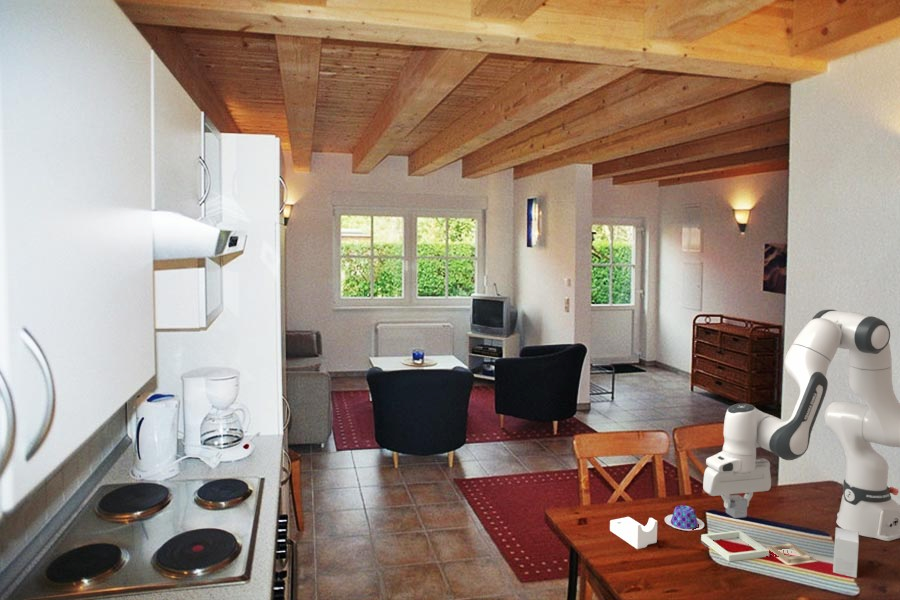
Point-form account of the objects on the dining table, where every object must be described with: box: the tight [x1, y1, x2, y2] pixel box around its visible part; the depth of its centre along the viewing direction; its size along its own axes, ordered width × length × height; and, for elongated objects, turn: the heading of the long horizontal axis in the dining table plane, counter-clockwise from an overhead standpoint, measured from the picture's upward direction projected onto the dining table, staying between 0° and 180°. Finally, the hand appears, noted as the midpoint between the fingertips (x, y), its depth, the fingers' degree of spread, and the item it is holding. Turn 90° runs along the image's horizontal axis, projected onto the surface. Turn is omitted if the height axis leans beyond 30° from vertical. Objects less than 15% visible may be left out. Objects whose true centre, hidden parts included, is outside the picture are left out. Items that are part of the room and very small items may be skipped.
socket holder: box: [767, 542, 818, 566], centre depth 187 cm, size 10×10×2 cm
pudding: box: [664, 504, 705, 531], centre depth 208 cm, size 12×12×5 cm
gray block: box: [725, 494, 748, 519], centre depth 189 cm, size 4×4×5 cm
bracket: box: [609, 516, 658, 550], centre depth 199 cm, size 13×7×8 cm, turn 23°
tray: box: [700, 529, 770, 565], centre depth 191 cm, size 13×13×2 cm
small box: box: [832, 527, 860, 579], centre depth 179 cm, size 8×6×10 cm
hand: (736, 506), depth 189 cm, fingers closed on gray block, 4 cm apart
